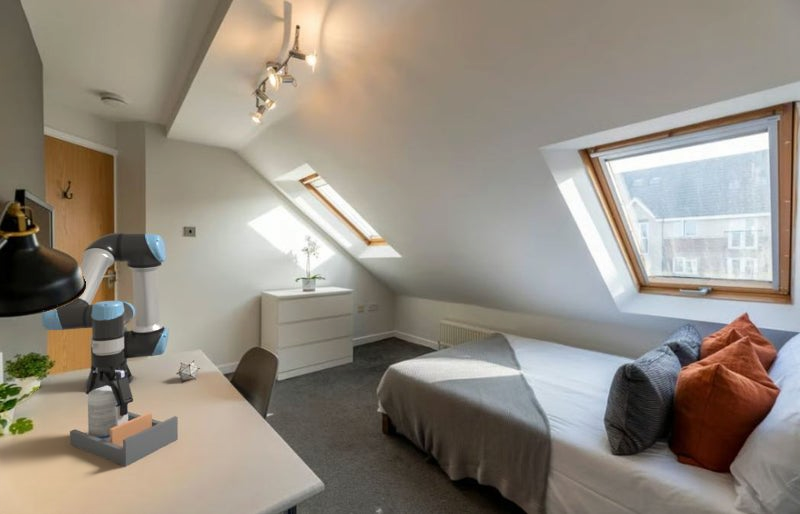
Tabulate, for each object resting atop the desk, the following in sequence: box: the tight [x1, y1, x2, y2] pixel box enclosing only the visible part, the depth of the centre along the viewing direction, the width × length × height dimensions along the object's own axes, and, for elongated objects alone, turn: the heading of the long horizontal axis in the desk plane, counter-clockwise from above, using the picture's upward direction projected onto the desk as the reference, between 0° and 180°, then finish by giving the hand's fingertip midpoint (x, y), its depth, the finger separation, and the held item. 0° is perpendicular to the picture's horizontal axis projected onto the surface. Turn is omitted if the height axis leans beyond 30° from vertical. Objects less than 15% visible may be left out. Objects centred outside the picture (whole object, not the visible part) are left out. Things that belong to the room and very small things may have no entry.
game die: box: [175, 360, 201, 383], centre depth 154 cm, size 9×8×10 cm
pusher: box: [110, 412, 153, 447], centre depth 103 cm, size 4×11×7 cm, turn 158°
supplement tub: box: [87, 386, 118, 442], centre depth 108 cm, size 10×10×15 cm
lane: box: [69, 411, 179, 467], centre depth 105 cm, size 26×14×7 cm, turn 68°
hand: (109, 421), depth 108 cm, fingers open, 12 cm apart
